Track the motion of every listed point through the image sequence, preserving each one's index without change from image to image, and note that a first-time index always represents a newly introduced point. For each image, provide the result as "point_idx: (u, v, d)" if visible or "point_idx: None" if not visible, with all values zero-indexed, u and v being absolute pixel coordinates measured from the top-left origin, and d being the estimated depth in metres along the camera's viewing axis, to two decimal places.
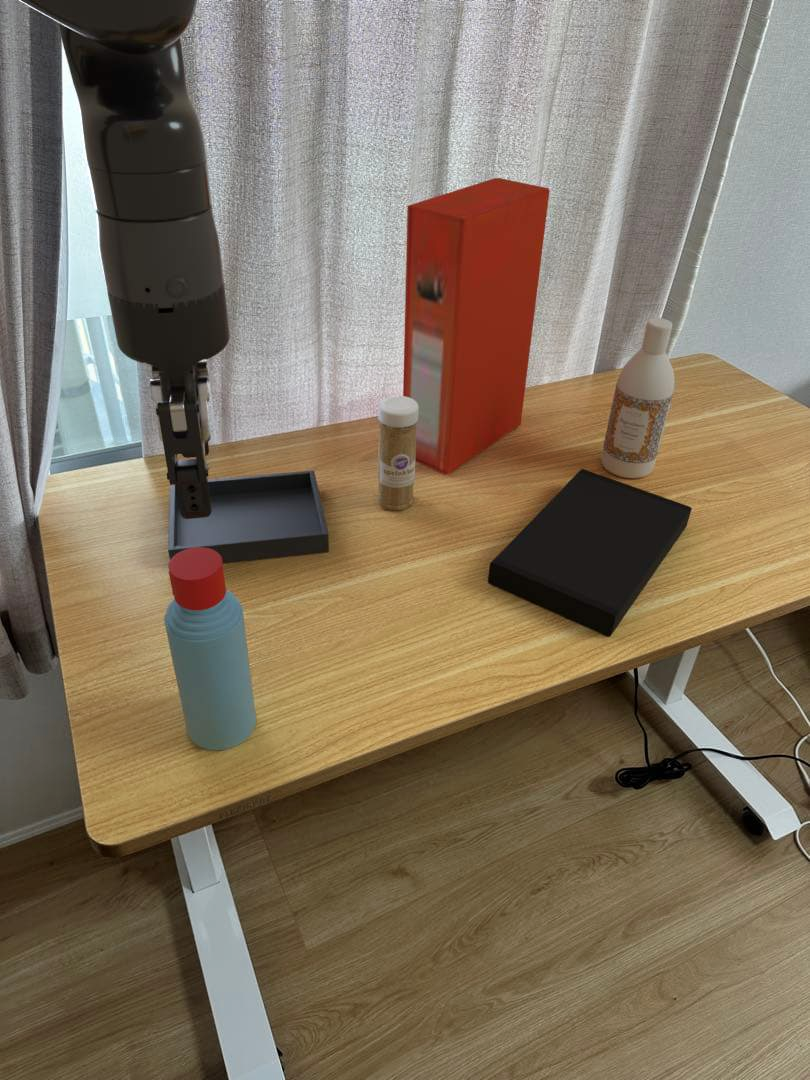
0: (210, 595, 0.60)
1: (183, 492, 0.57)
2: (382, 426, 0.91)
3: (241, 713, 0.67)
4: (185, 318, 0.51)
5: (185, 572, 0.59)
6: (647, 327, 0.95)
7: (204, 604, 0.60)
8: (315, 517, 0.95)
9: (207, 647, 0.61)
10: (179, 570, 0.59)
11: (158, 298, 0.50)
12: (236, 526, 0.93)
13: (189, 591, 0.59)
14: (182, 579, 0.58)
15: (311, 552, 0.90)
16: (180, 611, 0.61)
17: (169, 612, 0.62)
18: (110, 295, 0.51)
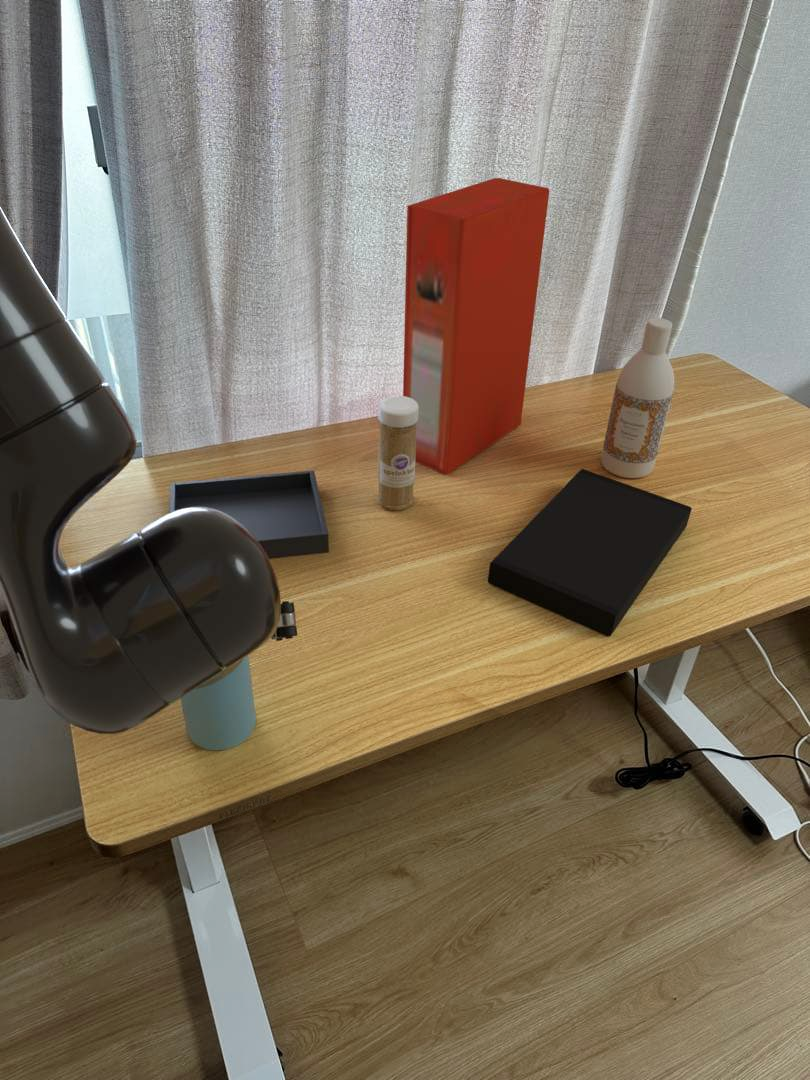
0: None
1: None
2: (382, 426, 0.91)
3: (241, 713, 0.67)
4: None
5: None
6: (647, 327, 0.95)
7: None
8: (315, 517, 0.95)
9: None
10: None
11: None
12: None
13: None
14: None
15: (311, 552, 0.90)
16: None
17: None
18: None
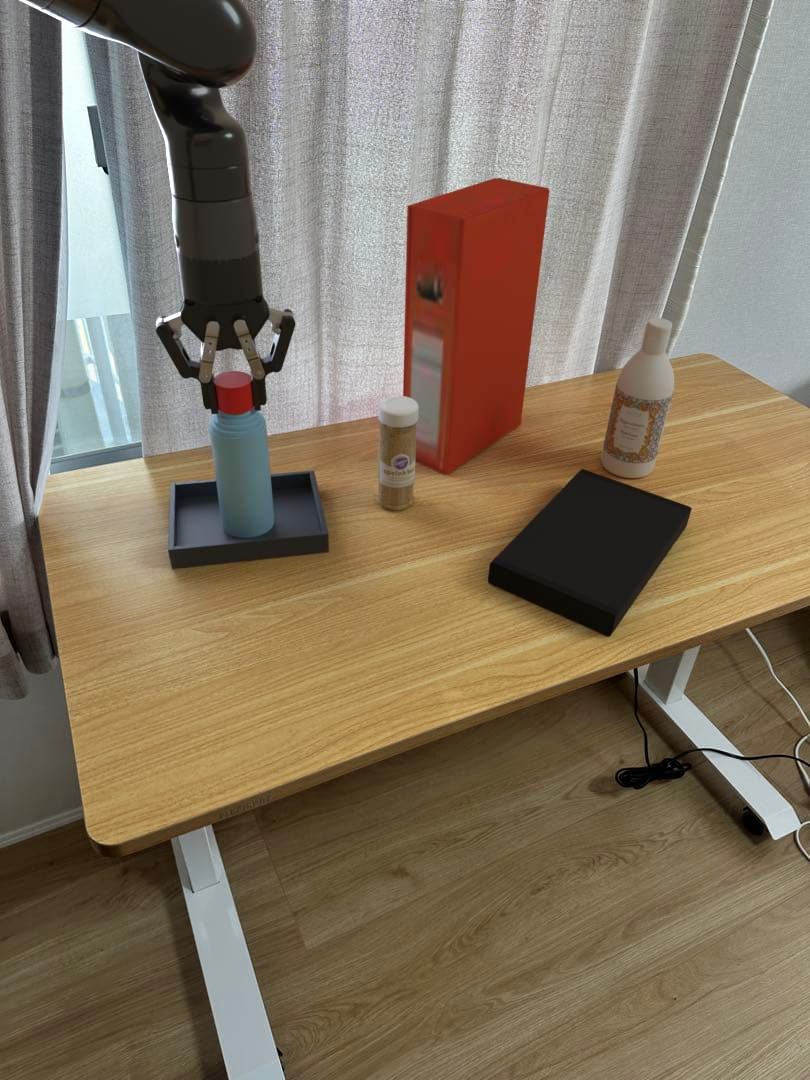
0: (243, 402, 0.82)
1: None
2: (382, 426, 0.91)
3: (264, 507, 0.90)
4: (180, 264, 0.74)
5: (226, 384, 0.82)
6: (647, 327, 0.95)
7: (239, 409, 0.83)
8: (315, 517, 0.95)
9: (241, 443, 0.84)
10: (221, 383, 0.82)
11: None
12: None
13: (228, 397, 0.82)
14: (223, 388, 0.81)
15: (311, 552, 0.90)
16: (221, 417, 0.84)
17: (212, 421, 0.85)
18: None
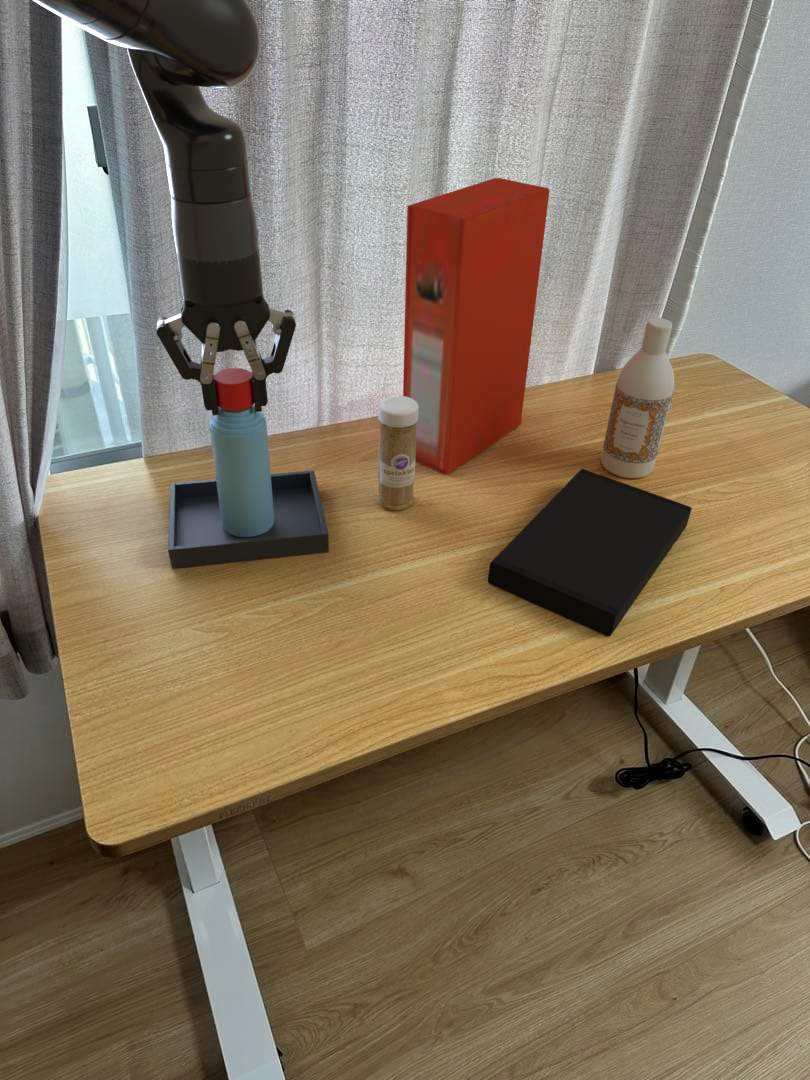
0: None
1: None
2: (382, 426, 0.91)
3: (264, 506, 0.90)
4: None
5: (239, 371, 0.84)
6: (647, 327, 0.95)
7: None
8: (315, 517, 0.95)
9: (241, 441, 0.84)
10: (244, 372, 0.83)
11: None
12: None
13: None
14: (241, 369, 0.84)
15: (311, 552, 0.90)
16: (221, 415, 0.84)
17: (212, 419, 0.85)
18: (236, 261, 0.72)
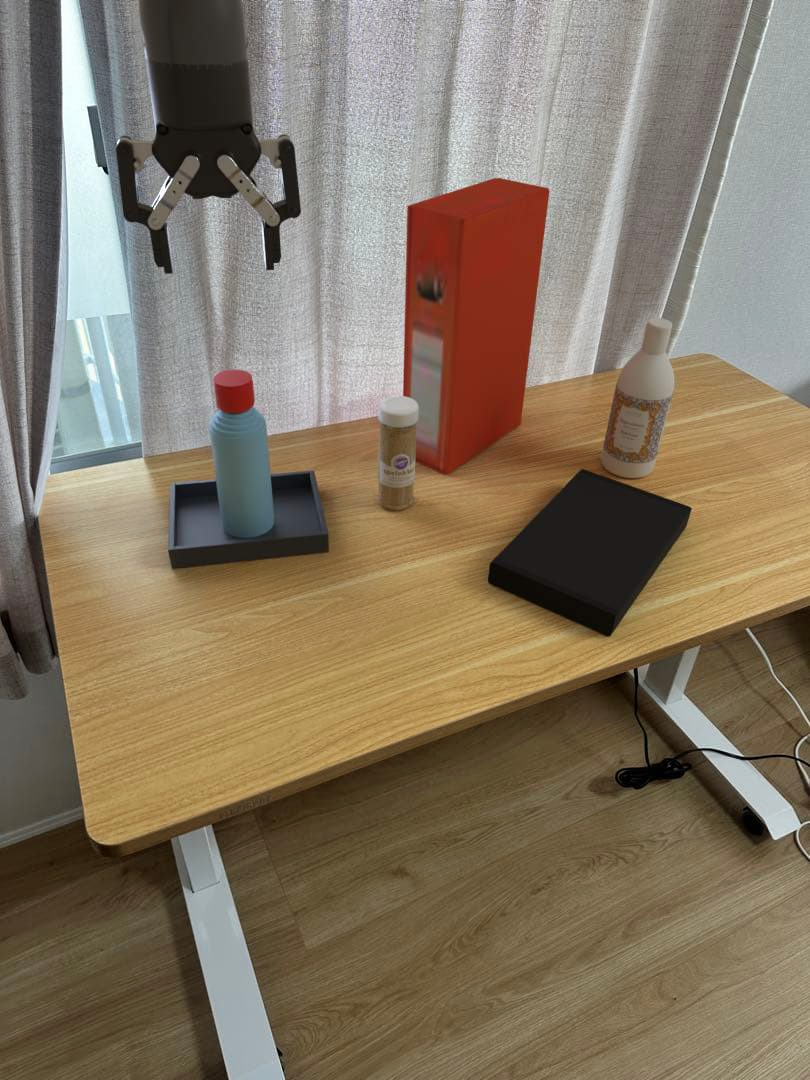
0: None
1: (279, 236, 0.69)
2: (382, 426, 0.91)
3: (264, 507, 0.90)
4: None
5: (239, 373, 0.83)
6: (647, 327, 0.95)
7: None
8: (315, 517, 0.95)
9: (241, 443, 0.84)
10: (243, 374, 0.83)
11: (247, 53, 0.60)
12: None
13: None
14: (241, 370, 0.84)
15: (311, 552, 0.90)
16: (221, 417, 0.84)
17: (212, 421, 0.85)
18: (219, 66, 0.58)
